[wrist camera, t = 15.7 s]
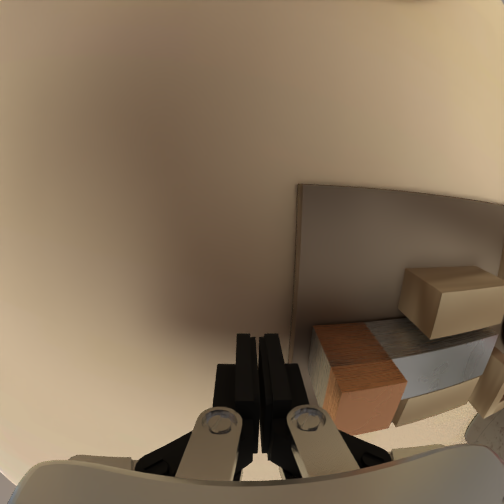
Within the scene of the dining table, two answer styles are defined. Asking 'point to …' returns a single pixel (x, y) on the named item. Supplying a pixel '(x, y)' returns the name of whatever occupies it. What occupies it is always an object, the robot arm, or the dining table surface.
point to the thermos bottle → (488, 432)
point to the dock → (401, 277)
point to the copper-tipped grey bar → (387, 368)
